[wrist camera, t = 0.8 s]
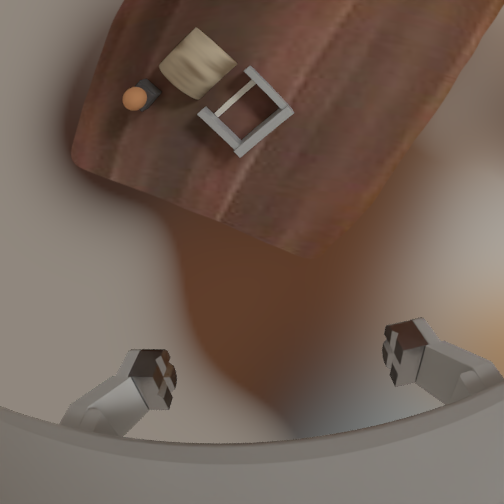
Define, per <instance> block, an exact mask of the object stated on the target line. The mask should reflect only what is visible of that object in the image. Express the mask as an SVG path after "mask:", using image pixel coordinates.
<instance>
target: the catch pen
mask: <svg viewBox="0 0 504 504" xmlns="http://www.w3.org/2000/svg"><path fill="white" fill-rule="evenodd" d="M244 72H245V73H246V74H247V75H248V76H249V77H250V78H251V79H252V80H253V81H254V82H255V83H256V84H257V85H258V86H259V87H260V88H261V89H262V90H263V91H264V92H265V93H266V94H267V95H268V96H269V97H270V98H271V99H272V100H273V101H274V102H275V103H276V104H277V105H278V106H279V107H280V108H279V109H278V110H276V111H275V112H274V113H273V114H271V115H270V116H269V117H268V118H267V119H265V120H264V121H263V122H262V123H261V124H259V125H258V126H257V127H256V128H255V129H254V130H252V131H251V132H250V133H249V134H248V135H247V136H245V137H244V138H243V139H242V140H240V139H239V138H238V137H237V136H236V135H235V134H234V133H233V132H232V131H231V130H230V129H229V128H228V127H227V126H226V125H225V124H224V123H223V122H222V121H221V120H220V119H219V118H218V117H217V116H216V115H215V114H213V113H212V112H211V111H210V110H209V109H208V108H207V107H204V108H203V109H202V110H201V111H200V112H199V113H198V114H197V115H198V116H199V117H201V118H202V119H203V120H204V121H205V122H206V123H207V124H208V125H209V126H210V127H211V128H212V129H213V130H214V131H215V132H216V133H218V134H219V135H220V136H221V137H222V138H223V139H224V140H225V141H226V142H227V143H228V144H229V145H230V146H231V147H232V148H233V149H234V152H235V153H236V154H237V155H238V156H239V157H242V156H243V155H244V154H245V153H246V152H247V151H249V150H250V149H251V148H252V147H253V146H255V145H256V144H257V143H258V142H259V141H260V140H262V139H263V138H264V137H265V136H266V135H268V134H269V133H270V132H271V131H273V130H274V129H275V128H276V127H277V126H279V125H280V124H281V123H282V122H284V121H285V120H286V119H287V118H289V117H290V116H291V115H292V114H294V112H293V109H292V108H291V107H290V106H289V105H288V103H287V102H286V101H285V100H284V99H283V98H282V97H281V96H280V95H279V94H278V93H277V92H276V91H275V90H274V89H273V88H272V87H271V86H270V84H269V83H268V82H267V81H266V80H265V79H264V78H263V77H262V76H261V75H260V74H259V73H258V72H257V71H256V70H255V69H254V68H253V67H252V66H249V67H248V68H247V69H246V70H244Z"/></svg>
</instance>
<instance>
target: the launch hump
mask: <svg viewBox="0 0 504 504" xmlns="http://www.w3.org/2000/svg"><path fill="white" fill-rule="evenodd" d="M236 65H237V63H236V62H235V61H234V60H233V59H232V58H231V57H230V56H229V55H228V54H227V53H226V52H224V51H223V50H222V49H221V48H220V47H219V46H218V45H217V44H216V43H214V42H213V41H212V40H211V39H210V38H209V37H208V36H206V35H205V34H204V33H203V32H202V31H201V30H199V29H198V28H197V27H196V28H195V29H194V30H193V31H192V32H191V33H189V34H188V35H187V36H186V37H185V38H184V39H183V40H182V41H181V42H180V43H179V44H178V45H177V46H176V47H175V49H174V50H173V51H172V52H171V53H170V54H169V55H168V56H167V57H166V58H165V59H164V60H163V61H162V62H161V63H160V65H159V68H160V70H161V72H162V73H163V75H164V76H165V77H166V78H167V79H168V80H169V81H170V82H171V83H172V84H173V85H174V86H175V87H177V88H178V89H179V90H181V91H182V92H184V93H185V94H187V95H188V96H190V97H192V98H194V99H198V100H200V99H201V98H202V97H203V96H204V95H205V94H206V93H207V92H208V91H209V90H210V89H211V88H212V87H213V86H214V85H215V84H216V83H217V82H218V81H219V80H220V79H222V78H223V77H224V76H225V75H226V74H227V73H228V72H229V71H230V70H231V69H233V68H234V67H235V66H236Z"/></svg>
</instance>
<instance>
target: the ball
mask: <svg viewBox="0 0 504 504" xmlns="http://www.w3.org/2000/svg"><path fill="white" fill-rule="evenodd" d="M146 101H147V94H146V92H145V91H144V90H143V89H142V88H140V87H132V88H130V89H128V90H127V91H126V92H125V93H124V95H123V104H124V106H125V107H126V108H127V109H129V110H132V111H134V110H139V109H141V108H142V107H143V106H144V105H145V103H146Z"/></svg>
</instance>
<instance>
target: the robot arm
mask: <svg viewBox="0 0 504 504" xmlns="http://www.w3.org/2000/svg"><path fill="white" fill-rule="evenodd" d="M384 335H385V336H386V340H385V341H384V343H383V347H382V354H383V360H384V363H385V365H386V367H387V368H389V369H391V371H390V377H391V379H392V381H393V383H394V385H395V387H398V386H402V385H406V384H411V383H414V382H416V384H417V385H418V386H420V387H421V388H423V389H424V390H425V391H427V392H428V393H430V394H431V395H433V396H434V397H435V398H437V399H438V400H439V401H441V402H442V403H444V404H445V405H444V406H442V407H439V408H436V409H433V410H430V411H427V412H423V413H420V414H417V415H414V416H410V417H407V418H404V419H399V420H396V421H392V422H388V423H384V424H380V425H376V426H371V427H367V428H362V429H357V430H352V431H347V432H342V433H336V434H330V435H325V436H317V437H310V438H302V439H293V440H284V441H272V442H257V443H229V444H228V443H226V444H225V443H224V444H211V443H180V442H164V441H154V440H144V439H135V438H127V437H123V436H124V435H125V434H126V433H127V432H128V431H129V430H130V429H131V428H132V427H133V426H134V425H135V424H136V423H137V422H138V421H139V420H140V419H141V418H142V417H143V416H144V415H145V414H146V413H147V412H148V411H149V410H169V408H170V405H171V402H172V398H173V397H172V395H171V392H172V391H173V390H174V389H175V388H176V383H177V375H176V370H175V368H174V366H173V365H172V364H171V363H169V360H170V355H169V353H168V351H167V350H165V349H142V350H141V349H131V350H130V351H128V353H127V355H126V357H125V359H124V361H123V363H122V365H121V366H120V368H119V370H118V372H117V374H116V376H112V377H111V378H109V379H107V380H106V381H104V382H103V383H101V384H100V385H98V386H97V387H95V388H94V389H92V390H91V391H90V392H88V393H87V394H85V395H84V396H82V397H81V398H79V399H78V400H76V401H75V402H73V403H72V404H70V406H69V408H68V410H67V411H66V413H65V415H64V417H63V418H62V420H61V422H60V424H55V423H51V422H48V421H44V420H41V419H37V418H34V417H30V416H27V415H24V414H21V413H18V412H15V411H12V410H9V409H7V408H4V407H1V406H0V504H504V378H503V377H502V375H501V374H500V373H499V371H498V370H497V368H496V367H495V366H494V364H493V363H492V362H491V361H489V360H487V359H485V358H482V357H480V356H477V355H476V354H473V353H471V352H469V351H467V350H464V349H462V348H460V347H457V346H455V345H453V344H451V343H448V342H446V341H440V339H439V338H438V337H437V335H436V334H435V332H434V331H433V330H432V329H431V327H430V326H429V324H428V323H427V322H426V320H425V319H424V318H422V317H420V318H416V319H412V320H410V321H404V322H400V323H395V324H390V325H387V326H386V327H385V332H384Z"/></svg>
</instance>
